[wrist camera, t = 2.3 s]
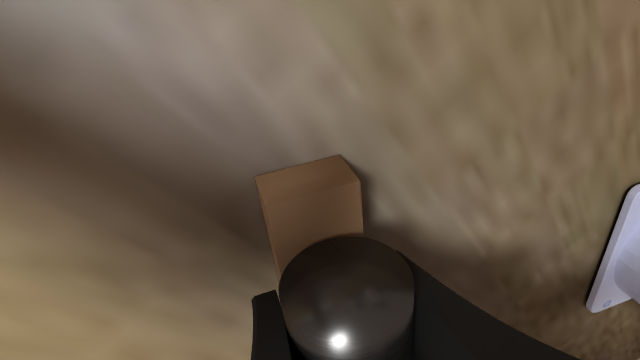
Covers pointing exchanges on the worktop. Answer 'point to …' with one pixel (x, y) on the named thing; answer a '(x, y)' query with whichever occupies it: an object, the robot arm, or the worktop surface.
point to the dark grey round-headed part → (348, 301)
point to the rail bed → (309, 206)
